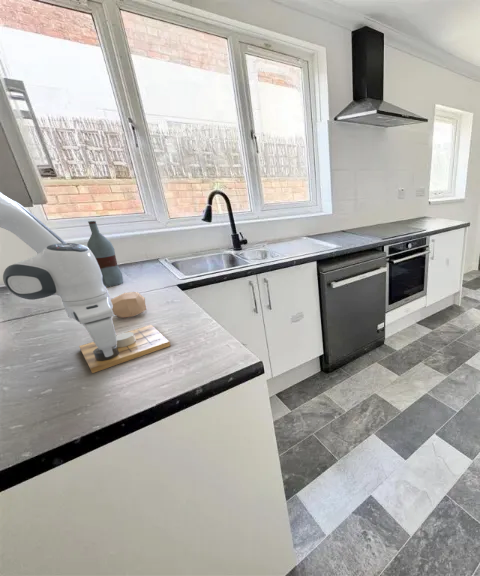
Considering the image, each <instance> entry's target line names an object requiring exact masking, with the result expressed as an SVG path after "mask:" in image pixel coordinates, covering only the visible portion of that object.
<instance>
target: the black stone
mask: <svg viewBox="0 0 480 576" xmlns="http://www.w3.org/2000/svg"><path fill="white" fill-rule="evenodd" d="M112 351H113V355H112V356H109V357H105V356H104V354H103V351H102V350H99V349H98V348H96V349H95V350H94V351H93V353H94V356H95V359H96V360H97V361H105V360H109V359H112V358H114V357H116V356H117V355H118V354H119V350H118V347H117V345H115V346H113V347H112Z"/></svg>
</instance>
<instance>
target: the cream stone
mask: <svg viewBox="0 0 480 576" xmlns="http://www.w3.org/2000/svg"><path fill="white" fill-rule="evenodd" d="M125 332H126V333H125ZM125 332H121V333H119V334H116V338H117V347H118V348H120V347H126V346H129V345H131V344H133V343H134V342H135V341H136V340H135V336H134V333H132V332H128V331H125Z"/></svg>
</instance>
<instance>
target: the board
mask: <svg viewBox="0 0 480 576" xmlns="http://www.w3.org/2000/svg"><path fill="white" fill-rule="evenodd" d="M126 332H132V333H134V336H135V340H136V341H135V342H134V343H133V344H131V345H129V346H126V347H120V348H118V350H119V354H118V355H117V356H116V357H114V358H112V359H109V360H105V361H97V360H96V359H95V356H94V353H93V351H94V350H95V349H96V348H98V347H97V346H96V344H95V343H94V341H91V342H88V343H85V344H82V345H79V346H78V347H79V350H80V351H81V354H82V355H83V358H84V360H85V362H86V363H87V366H88V368H89V369H90V372H91V374H95V373H97V372H100V371H103V370H106V369H108V368H111V367H114V366H118V365H120V364H123V363H126V362H128V361H132V360H135V359H136V358H140V357H143V356H145V355H148V354H151V353H154V352H158V351H160V350H163V349H166V348H168V347H171V346H172V345H171V341H169V340H168V339H167V338H166V336H165V335H163V334H162V333H161V332H160V331H159V330H158V329H157V328H156V327H155V326H153V325H152V324H148V325H145V326H141V327H139V328H135V329H132V330H128V331H125V332H124V333H126Z"/></svg>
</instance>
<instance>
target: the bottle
mask: <svg viewBox="0 0 480 576" xmlns="http://www.w3.org/2000/svg"><path fill="white" fill-rule="evenodd" d="M87 223H88V225H89V230H90V232H91V234H90V237H89V238H88V241H87V244H86V247H88V248H89V249H90V250H91V252H92V253H93V255H94V256H95V258H96V260H97V262H98V265H99V267H100V270H101V273H102V282H103V284H104V286H105V287H106V288H110V287H116V286H119V285H122V284H123V283H124V276H123V273H122V271H121V268H120V267H119V265H118V261H117V257H116V251H115V248H114V246H113V243H112V242H111V240H109V239H108V238H107V237H105V235H103V234H102V233H100V230H99V226H98V224H97V221H96V220H88V221H87Z"/></svg>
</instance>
